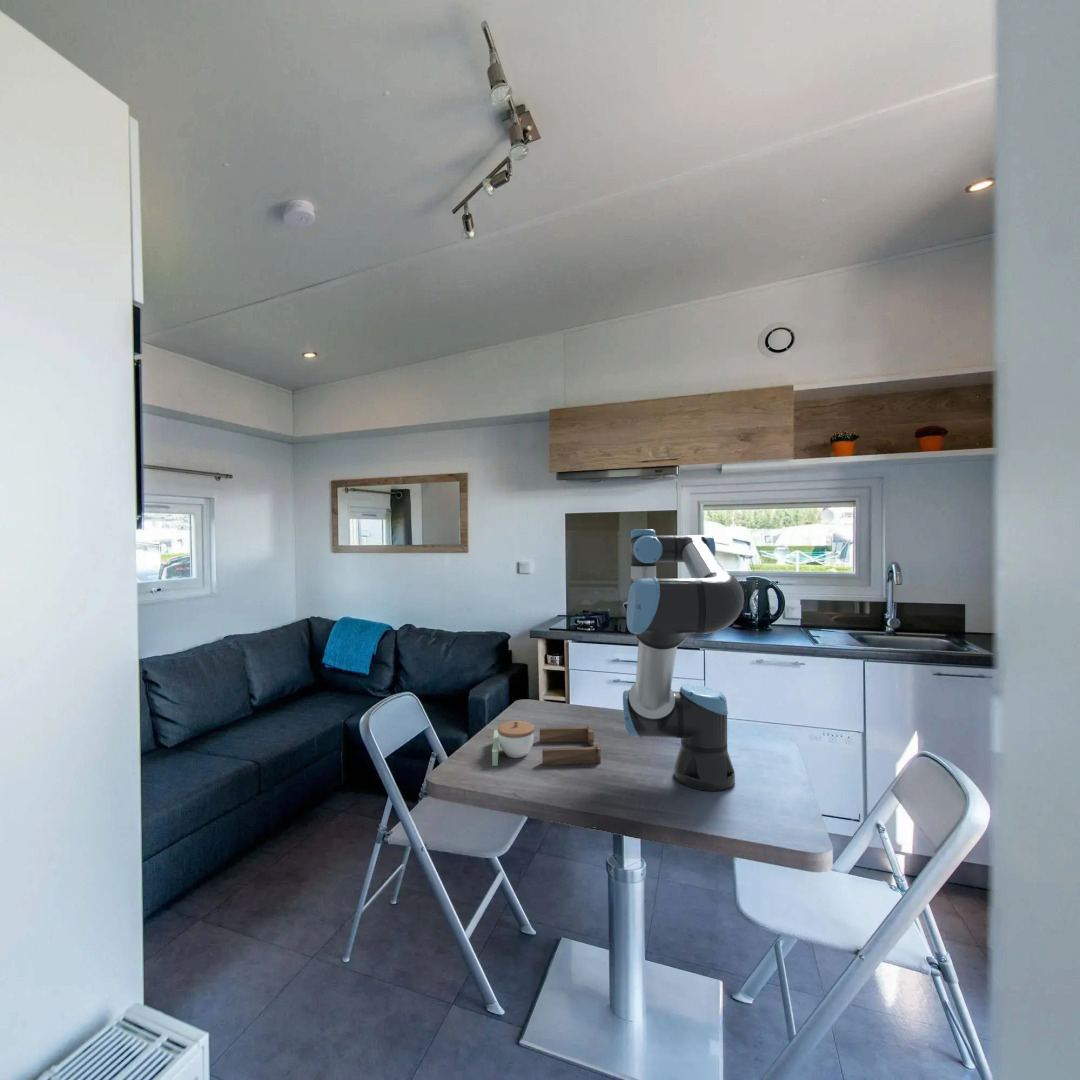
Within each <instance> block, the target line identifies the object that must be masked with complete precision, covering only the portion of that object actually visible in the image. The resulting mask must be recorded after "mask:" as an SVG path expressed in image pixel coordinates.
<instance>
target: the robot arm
mask: <svg viewBox="0 0 1080 1080" xmlns="http://www.w3.org/2000/svg"><path fill="white" fill-rule="evenodd" d="M629 543H630V579H631V581H630V587H629V591H628V596H627V601H626V602H623V603H622V607H623V608H624V610H625V612H626V626H627V630H628V631H629V633H630V634H632V635H634V637H635V638H636V641H637V644H636V645H637V647H638V648H637V660H636V675H635V676H636V677H635V682H634V684H632V686H631V687H630V689H628V690H624V691H623V692H622V708H623V717H624V725H625V726H624V727H625V731H626V733H627V734H628V735H629V736H631V737H635V738H636V737H638V738H640V739H641V738H658V739H659V738H661V739H663V738H664V739H665V738H667V739H680V746H679V750H678V753H677V756H676V759H675V762H674V764H673V765H674V768H673V770H674V771H673V772H674V775H673V776H674V778H675V779H676V780H677V781H678V782H679V783H681V784H683V785H684V786H685V787H689V788H692V789H695V790H699V791H706V792H720V791H725V790H729V789H730V788H732V787H733V786H735V783H736V774H735V773H736V772H735V769H734V766H733V762H732V761H731V760H732V759H731V758H730V753H729V751H728V715H729V711H728V703H727V698H726V696H725V694H724V693H722V692H720V691H719V690H717V689H714V688H712V687H709V686H705V685H701V684H695V683H694V684H691V683H688V684H682V685H681V686H680V688H679V691H673V689H672V684H673V677H674V671H675V661H676V657H677V650H678V647H679V646H680V645H681V644H683V642H684V641H685V640H686V637H687V635H688V634H689V635H700V634H701V635H708V634H713V633H717V632H720V631H722V630H724V629H726V628H727V627H729V626H731V625H732V624H733V623H734V622H735V621H736V620H737V619H738V618H739V616H740V614H741V613H742V611H743V607H744V603H745V595H744V594H745V593H744V589H743V587H742V585H741V584H740V581H738V579H737V578H736V577H735V576H734V575H733V574H731V573H729V572H727V571H725V569H724V568H723V566H722V565H721V563H720V562H719V560H718V559H717V558H716V542H715V539H714V537H713V536H711V535H709V534H708V535H707V534H706V535H705V534H703V535H702V534H689V535H688V534H687V535H683V534H682V535H657V534H656V530H655V529H653V528H650V529H648V528H645V529H643V528H641V529H639V528H638V529H637V528H636V529H632V530H631V531H630V539H629ZM657 563H684V564H685V567H686V569H687V571H688V573H689V575H690V577H691V578H690V577H683V578H681V577H678V578H677V577H676V578H670V577H669V578H667V577H665V578H658V577H657Z"/></svg>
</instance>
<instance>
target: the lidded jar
mask: <svg viewBox="0 0 1080 1080" xmlns="http://www.w3.org/2000/svg"><path fill="white" fill-rule="evenodd" d="M497 730H498V739H499V748H500V749H501V750H502V751H503V753H505V754H506V756H507V757H509V758H514V759H515V758H516V759H519V758H523V757H525V756H526V755H527V754H528V752H530V750H531V749H532V747H533V744H534V740H535V739H534V738H535V726H534V724H532V723H531V722H529V721H524V720H512V721H510V720H509V721H506V722H503V723H501V724H500V725H498V727H497Z"/></svg>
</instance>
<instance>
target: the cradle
mask: <svg viewBox="0 0 1080 1080" xmlns="http://www.w3.org/2000/svg"><path fill="white" fill-rule="evenodd" d="M594 733H595V732H594V730H593V727H592V726H589V725H588V726H562V727H560V726H559V727H557V726H556V727H539V743H540V744H541V743H545V744H546V743H571V742H573V743H574V742H578V743H579V742H587V744H588V746H583V747H582V746H581V747H580V746H579V747H578V746H577V747H549V748H548V747H546V748H543V747H542V751H541V753H542V754H541V757H542V758H541V759H542V761H541V762H542V763H541V764H542V766H550V765H551V766H552V765H553V766H554V765H555V766H556V765H557V766H558V765H559V766H560V765H578V764H579V765H584V764H587V765H589V764H601V761H602V760H601V759H602V756H601V755H602V754H601V751H602V750H601V747H600V744H599V742H595V740H594V739H595V737H594V736H595V734H594Z"/></svg>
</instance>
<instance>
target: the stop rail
mask: <svg viewBox="0 0 1080 1080" xmlns="http://www.w3.org/2000/svg"><path fill="white" fill-rule="evenodd" d="M491 749H492V750H491V757H492V758H491V761H492V762H491V763H492V764H491V766H492V767H497V766H498V765H499V755H500V754H499V752H500V744H499V739H498V729H494V730H493V740H492V748H491Z"/></svg>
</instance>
